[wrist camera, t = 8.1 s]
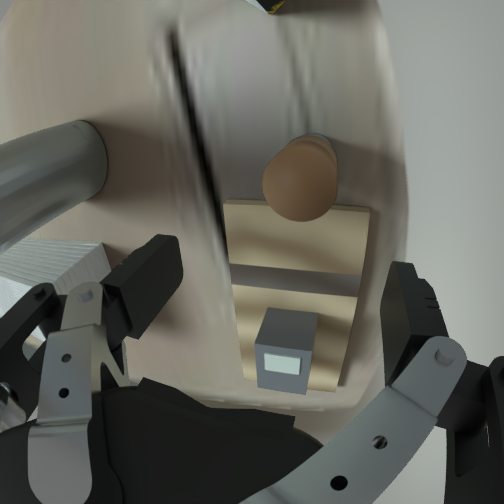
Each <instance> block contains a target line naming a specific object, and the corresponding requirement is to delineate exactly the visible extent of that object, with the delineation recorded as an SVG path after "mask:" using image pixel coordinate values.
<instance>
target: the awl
mask: <svg viewBox="0 0 504 504" xmlns="http://www.w3.org/2000/svg"><path fill="white" fill-rule="evenodd" d="M262 190H263V194H264V197H265V199H266V201H267V203H268V204H269V206H270V207H271V208H272V209H273V210H274V211H275V212H276V213H277V214H279V215H280V216H282V217H284V218H286V219H288V220H292V221H297V222H307V221H312V220H315V219H317V218H320V217H321V216H323V215H324V214H325V213H327V212H328V211H329V209H330V208H331V207H332V205H333V204H334V201H335V199H336V196H337V157H336V154H335V151H334V150H333V147H332V145H331V143H330V141H329V140H328V139H327V138H326V137H324V136H323V135H321V134H317V133H309V134H306V135H304V136H301V137H298V138H296V139H294V140H292V141H291V142H290V143H289V144H288V145H287V146H286V147H285V148H284V149H283V150H281V151H280V152H279V153H278V154H277V155H276V156H275V157H274V158H273V159H272V160H271V161H270V162H269V164H268V165H267V167H266V169H265V171H264V173H263V178H262Z"/></svg>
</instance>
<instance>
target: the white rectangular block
mask: <svg viewBox="0 0 504 504" xmlns="http://www.w3.org/2000/svg"><path fill="white" fill-rule="evenodd" d="M110 272H111V268H110V265H109V262H108V259H107V256H106V253H105V250H104V247H103V244H102V242H87V241H69V240H52V239H34V238H23V239H22V240H21V241H19V242H18V243H16V244H15V245H13V246H12V247H11V248H9V249H8V250H6V251H5V252H4V253H2V254H1V255H0V316H1V317H2V316H3V315H4V314H5V313H6V312H7V311H8V310H9V309H10V308H11V307H12V306H13V305H14V304H15V303H16V302H17V301H18V300H19V299H20V298H21V297H22V296H23V295H25V294H26V293H27V292H28V291H29V290H30V289H31V288H32V287H34V286H36V285H38V284H40V283H44V282H49V283H52V284H53V285H54V288H55V290H56V292H57V294H58V295H68V294H69V292H70V291H71V290H72V289H73V288H75V287H76V286H78V285H80V284H82V283H85V282H97V283H99V282H100V281H101V280H103V279H104V278H105V277H106V276H107V275H108V274H109V273H110ZM31 335H33V336H35V337H36V338H38V339H40V340H42V341H45V340H46V339H45V337H44V336H43V334H42V332H41V330H40V329H39V327H38V326H37V327H36V329H35V330H34V331H33V332H32V333H31Z"/></svg>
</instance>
